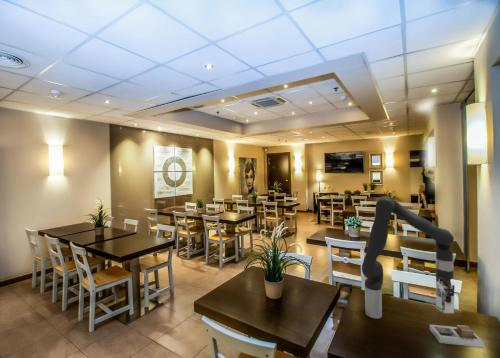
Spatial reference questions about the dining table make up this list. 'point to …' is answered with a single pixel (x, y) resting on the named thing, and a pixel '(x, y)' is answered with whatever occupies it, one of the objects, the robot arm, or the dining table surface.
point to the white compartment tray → (454, 336)
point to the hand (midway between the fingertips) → (444, 299)
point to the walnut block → (465, 331)
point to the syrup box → (443, 299)
